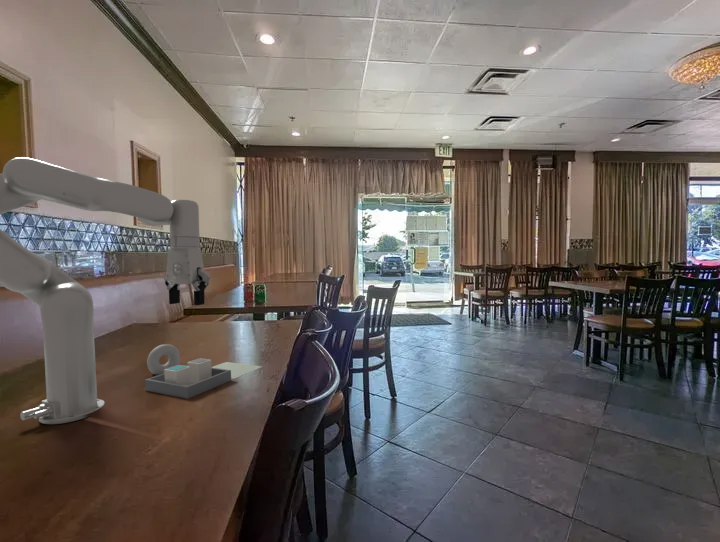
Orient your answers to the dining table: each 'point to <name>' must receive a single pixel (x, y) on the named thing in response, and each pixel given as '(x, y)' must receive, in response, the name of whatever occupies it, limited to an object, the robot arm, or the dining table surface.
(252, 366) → the sage board
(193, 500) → the dining table surface
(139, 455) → the dining table surface
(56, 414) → the robot arm
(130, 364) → the dining table surface
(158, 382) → the parts bin
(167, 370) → the teal label box
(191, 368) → the grey label box
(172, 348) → the donut
